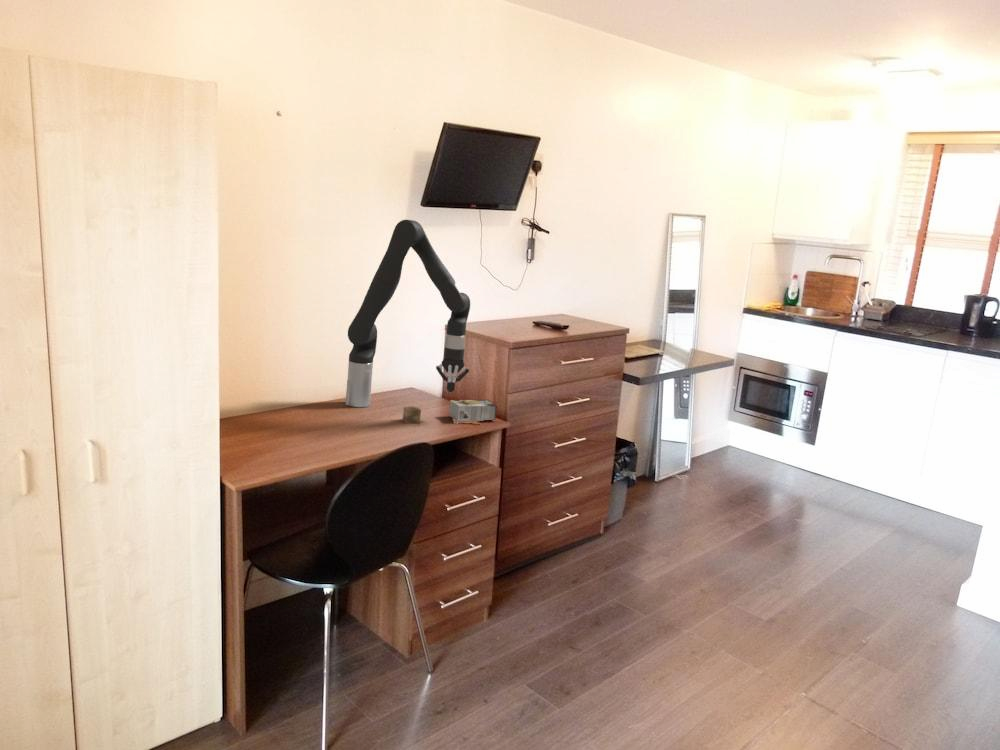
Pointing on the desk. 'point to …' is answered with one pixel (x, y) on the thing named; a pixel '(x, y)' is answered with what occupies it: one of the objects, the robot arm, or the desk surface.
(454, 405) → the coffee box
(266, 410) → the desk surface
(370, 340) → the robot arm
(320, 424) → the desk surface
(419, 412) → the walnut block
